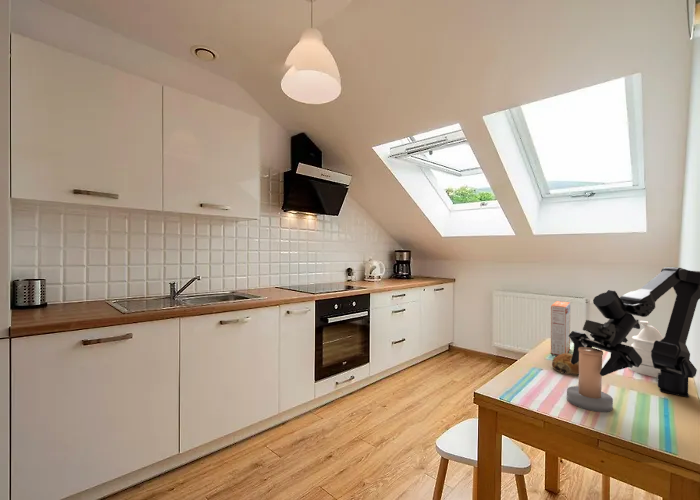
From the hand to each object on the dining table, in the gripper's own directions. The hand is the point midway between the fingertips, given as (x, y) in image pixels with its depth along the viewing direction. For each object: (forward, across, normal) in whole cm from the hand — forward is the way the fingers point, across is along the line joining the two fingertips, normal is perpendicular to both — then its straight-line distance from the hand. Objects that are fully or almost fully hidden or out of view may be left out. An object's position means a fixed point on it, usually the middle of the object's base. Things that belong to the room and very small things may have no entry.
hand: (585, 368), depth 99 cm
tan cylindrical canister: (+4, 0, +6) cm, 8 cm away
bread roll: (-5, -23, +20) cm, 30 cm away
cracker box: (-16, -42, +31) cm, 55 cm away
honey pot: (-26, -16, +41) cm, 51 cm away
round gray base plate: (+6, 0, +8) cm, 10 cm away
